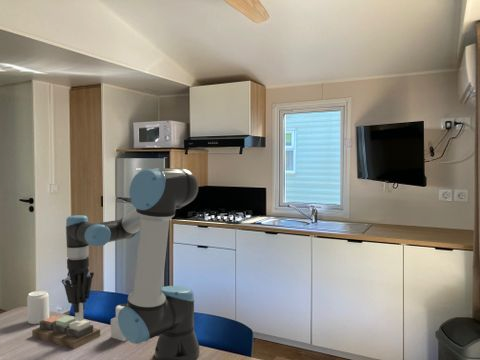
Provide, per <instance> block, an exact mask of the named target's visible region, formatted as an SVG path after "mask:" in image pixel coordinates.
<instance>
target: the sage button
mask: <svg viewBox="0 0 480 360" xmlns="http://www.w3.org/2000/svg"><path fill="white" fill-rule="evenodd" d="M75 321H77V320H75V316H69V315H65V316H62V318H60V319H57V320H56V325H57V326H61V327H67V326H69V324H70V323H72V322H75Z"/></svg>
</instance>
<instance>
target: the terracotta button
mask: <svg viewBox="0 0 480 360" xmlns="http://www.w3.org/2000/svg"><path fill="white" fill-rule="evenodd" d="M60 318H61V316H58V317H57V315H52V316H49V318H47V319H44V320H43V322H46V323H50V324H52V323H55V322H56V320H57V319H60Z"/></svg>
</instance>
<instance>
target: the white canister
mask: <svg viewBox="0 0 480 360" xmlns="http://www.w3.org/2000/svg"><path fill="white" fill-rule="evenodd" d="M27 295H28V296H27V298H26V301H27V302H26V305H27V306H26V309H27V323H28V324H31V325H40V321H42V320H44V319H47V318H49V317H50V295H49V293H48V291H47V290H35V291H31V292H30V293H28V294H27Z"/></svg>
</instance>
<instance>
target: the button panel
mask: <svg viewBox="0 0 480 360" xmlns="http://www.w3.org/2000/svg"><path fill="white" fill-rule="evenodd" d="M56 316H57V315H56ZM57 317H59V316H57ZM60 317H61V316H60ZM62 317H63V316H62ZM62 317H61V318H62ZM31 335H32V338H37V339H39V340H43V341H46V342H49V343H52V344H55V345H60V346H63V347H66V348H70V349H73V350H75V349H77V348H79V347H81V346H83V345H86V344H88V343H90V342H91V341H93V340H95V339H98V338H99V337H101V329H99V328H96V327H94V325H93V324H90V326H89V327H87V328H85V329H83V330H80V331H76V330H73V329H70V327H69V326H67V327H61V326H57V325H56V322H55V323H52V324H50V323H46V322H43V320H42V321H40V324H39V327H37V328H34V329H32V332H31Z"/></svg>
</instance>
